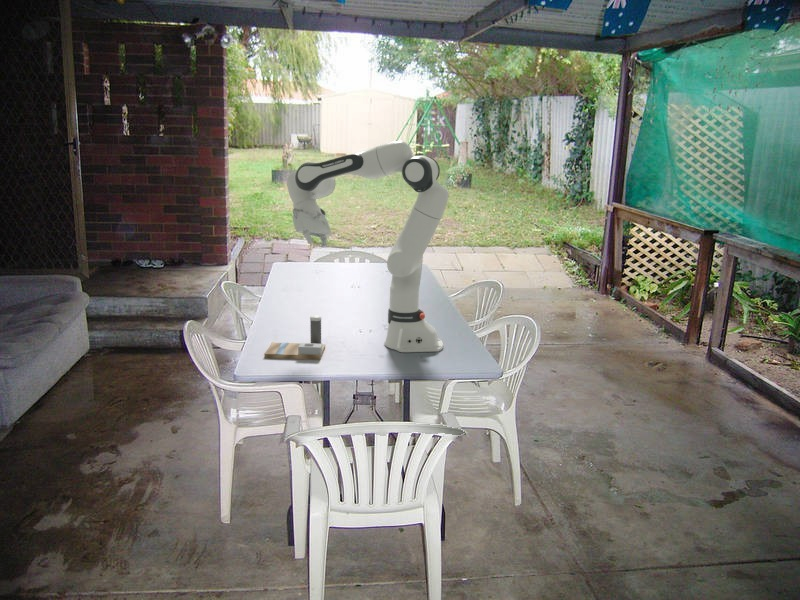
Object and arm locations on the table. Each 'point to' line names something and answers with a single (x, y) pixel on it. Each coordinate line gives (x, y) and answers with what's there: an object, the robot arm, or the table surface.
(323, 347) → the board
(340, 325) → the table surface
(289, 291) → the table surface
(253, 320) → the table surface
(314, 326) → the peg
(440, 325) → the table surface
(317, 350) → the block
